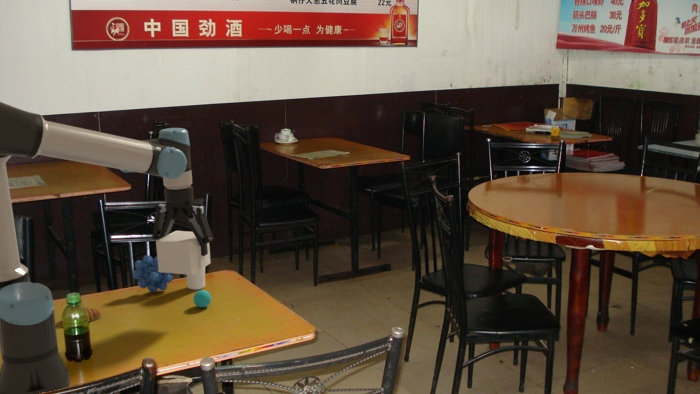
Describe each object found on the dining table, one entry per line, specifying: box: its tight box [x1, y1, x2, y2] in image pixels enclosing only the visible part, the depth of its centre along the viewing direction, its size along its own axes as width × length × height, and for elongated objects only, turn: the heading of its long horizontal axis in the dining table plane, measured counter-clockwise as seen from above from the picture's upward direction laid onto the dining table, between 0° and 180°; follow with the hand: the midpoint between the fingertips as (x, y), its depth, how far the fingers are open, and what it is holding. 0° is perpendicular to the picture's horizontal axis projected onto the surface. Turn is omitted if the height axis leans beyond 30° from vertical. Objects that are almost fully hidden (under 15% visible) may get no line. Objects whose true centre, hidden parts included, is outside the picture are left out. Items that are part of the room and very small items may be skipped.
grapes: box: [132, 254, 174, 293], centre depth 228 cm, size 12×7×12 cm, turn 110°
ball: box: [193, 289, 212, 308], centre depth 217 cm, size 5×5×5 cm
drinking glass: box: [186, 267, 206, 291], centre depth 232 cm, size 7×7×15 cm
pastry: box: [84, 307, 102, 323], centre depth 209 cm, size 9×7×4 cm
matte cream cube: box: [155, 230, 211, 276], centre depth 205 cm, size 10×10×9 cm
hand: (184, 265), depth 206 cm, fingers closed on matte cream cube, 10 cm apart
